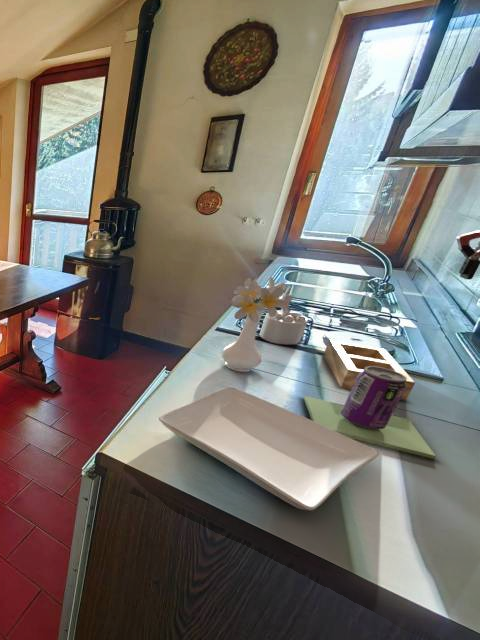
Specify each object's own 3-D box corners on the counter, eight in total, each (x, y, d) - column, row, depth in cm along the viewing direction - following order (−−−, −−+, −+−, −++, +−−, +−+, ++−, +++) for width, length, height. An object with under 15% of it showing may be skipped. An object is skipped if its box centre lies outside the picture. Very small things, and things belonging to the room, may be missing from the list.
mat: (407, 422, 85) (408, 419, 85) (434, 459, 74) (436, 456, 74) (303, 398, 94) (304, 395, 94) (314, 428, 83) (315, 425, 83)
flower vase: (205, 373, 105) (231, 284, 95) (218, 351, 118) (241, 270, 108) (264, 389, 98) (298, 294, 88) (270, 363, 111) (300, 278, 101)
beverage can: (385, 436, 79) (412, 385, 75) (339, 422, 84) (361, 373, 79) (383, 421, 84) (408, 372, 80) (340, 408, 89) (361, 361, 84)
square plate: (152, 431, 82) (156, 415, 80) (226, 397, 94) (230, 383, 93) (304, 526, 60) (313, 507, 59) (374, 466, 72) (383, 449, 71)
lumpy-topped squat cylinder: (304, 337, 128) (313, 313, 125) (291, 347, 121) (300, 322, 117) (267, 328, 136) (275, 304, 132) (253, 337, 128) (261, 312, 125)
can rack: (377, 364, 111) (384, 348, 109) (405, 400, 93) (415, 382, 91) (323, 354, 116) (329, 339, 114) (340, 387, 99) (348, 369, 97)
